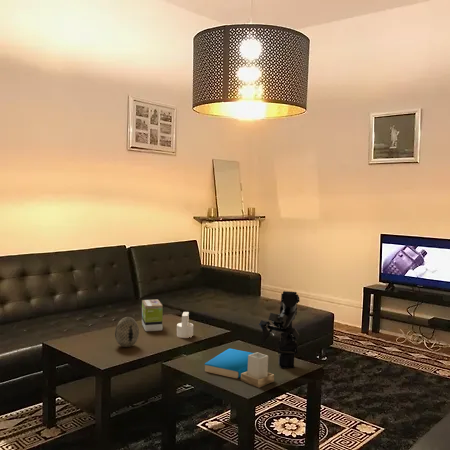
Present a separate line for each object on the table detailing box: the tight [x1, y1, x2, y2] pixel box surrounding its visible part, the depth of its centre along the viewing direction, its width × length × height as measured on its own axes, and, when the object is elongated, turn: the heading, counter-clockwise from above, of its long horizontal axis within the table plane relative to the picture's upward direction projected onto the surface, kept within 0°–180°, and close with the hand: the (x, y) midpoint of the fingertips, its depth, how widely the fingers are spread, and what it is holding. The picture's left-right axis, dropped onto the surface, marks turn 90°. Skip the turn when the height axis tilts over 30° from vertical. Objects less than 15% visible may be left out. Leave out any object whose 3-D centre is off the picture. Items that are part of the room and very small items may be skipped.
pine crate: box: [240, 371, 275, 388], centre depth 208 cm, size 10×10×3 cm
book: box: [204, 348, 255, 379], centre depth 224 cm, size 17×4×25 cm
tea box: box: [141, 299, 164, 332], centre depth 282 cm, size 15×10×15 cm
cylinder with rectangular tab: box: [176, 311, 194, 339], centre depth 268 cm, size 9×9×12 cm
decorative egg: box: [114, 316, 140, 348], centre depth 246 cm, size 12×12×15 cm
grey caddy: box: [247, 351, 269, 380], centre depth 207 cm, size 6×6×10 cm
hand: (269, 345), depth 212 cm, fingers open, 9 cm apart
